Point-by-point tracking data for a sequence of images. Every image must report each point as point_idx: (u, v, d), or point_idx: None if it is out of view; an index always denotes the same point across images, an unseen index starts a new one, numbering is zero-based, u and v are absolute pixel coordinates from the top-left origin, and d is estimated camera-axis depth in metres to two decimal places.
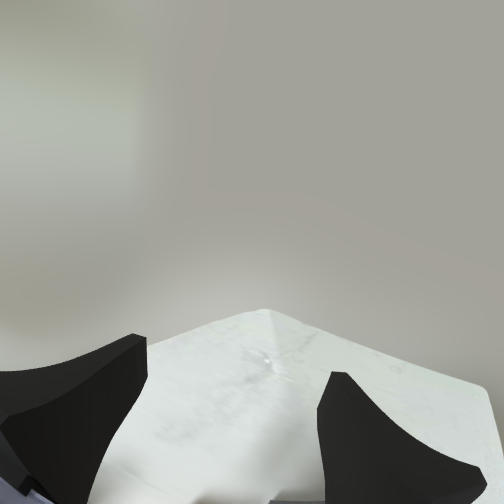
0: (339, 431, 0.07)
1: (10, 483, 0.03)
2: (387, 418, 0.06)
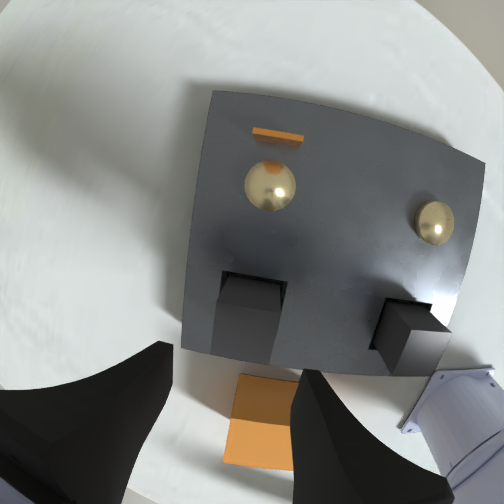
0: (306, 430, 0.07)
1: None
2: (353, 418, 0.06)
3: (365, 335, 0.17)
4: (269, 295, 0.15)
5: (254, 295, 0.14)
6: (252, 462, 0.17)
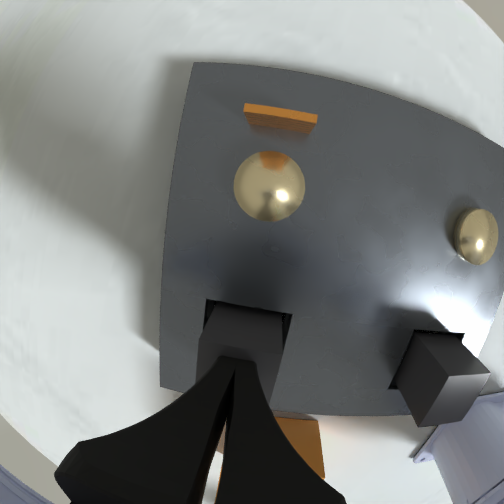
0: (229, 420, 0.07)
1: None
2: (266, 412, 0.06)
3: (386, 374, 0.12)
4: (268, 327, 0.11)
5: (249, 328, 0.11)
6: None
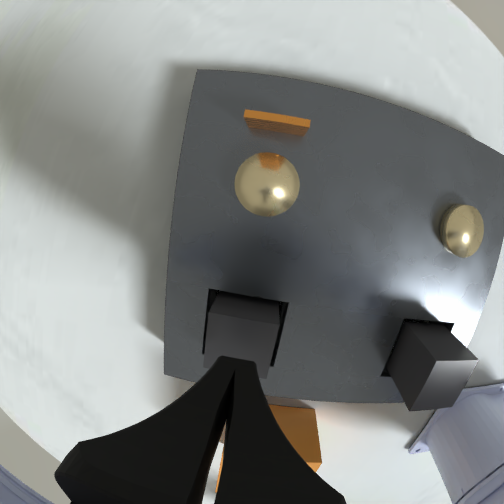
0: (229, 420, 0.07)
1: None
2: (266, 412, 0.06)
3: (378, 361, 0.14)
4: (267, 304, 0.14)
5: (250, 304, 0.13)
6: None
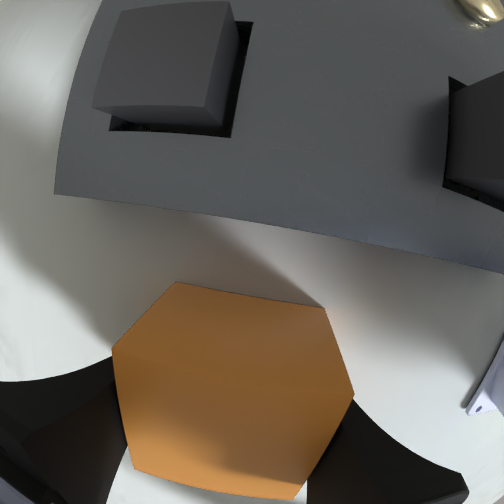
0: None
1: (29, 498, 0.03)
2: (367, 418, 0.06)
3: (432, 148, 0.07)
4: None
5: None
6: (193, 478, 0.07)
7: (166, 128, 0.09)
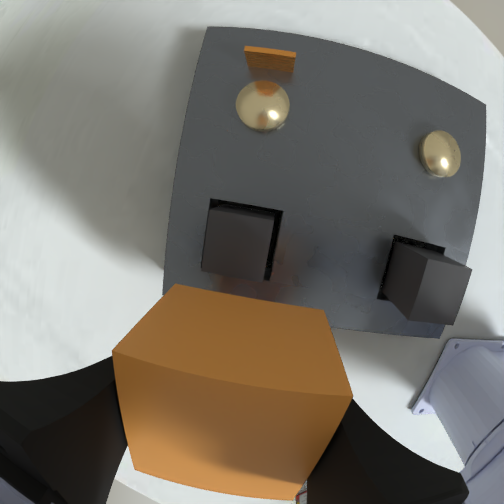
0: None
1: (28, 498, 0.03)
2: (367, 418, 0.06)
3: (373, 280, 0.15)
4: (264, 214, 0.15)
5: (248, 212, 0.14)
6: (193, 479, 0.07)
7: None
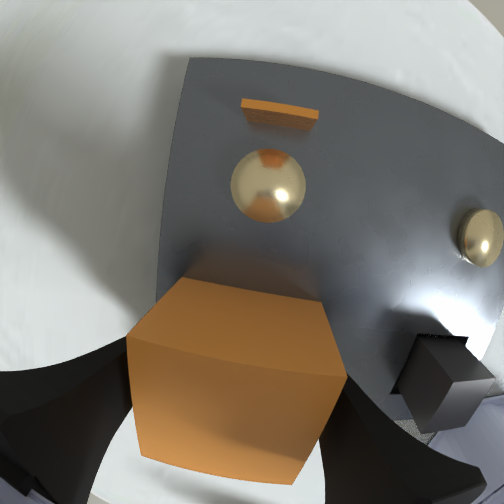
0: (339, 431, 0.07)
1: (10, 483, 0.03)
2: (387, 418, 0.06)
3: (388, 379, 0.12)
4: None
5: None
6: (197, 462, 0.08)
7: None
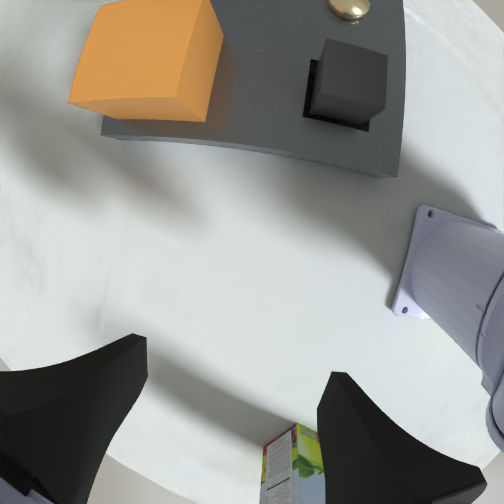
0: (339, 431, 0.07)
1: (10, 483, 0.03)
2: (387, 418, 0.06)
3: (295, 98, 0.14)
4: None
5: None
6: (105, 84, 0.10)
7: None
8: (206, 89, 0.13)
